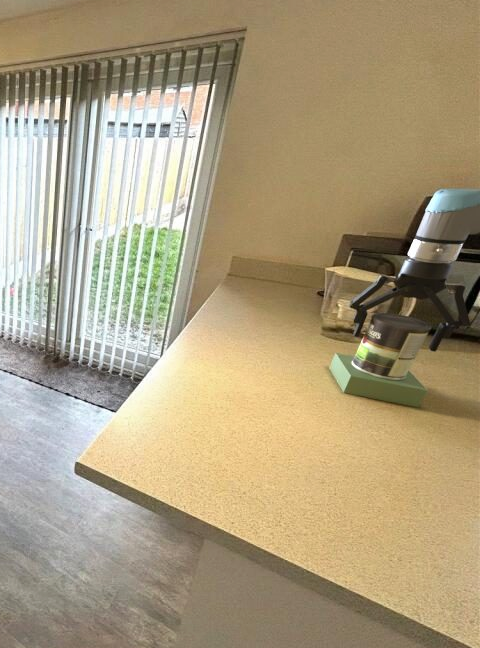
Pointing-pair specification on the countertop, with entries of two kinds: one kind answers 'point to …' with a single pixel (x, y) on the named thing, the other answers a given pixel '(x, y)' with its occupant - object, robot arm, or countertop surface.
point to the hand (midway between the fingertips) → (392, 341)
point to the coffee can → (390, 345)
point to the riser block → (376, 383)
